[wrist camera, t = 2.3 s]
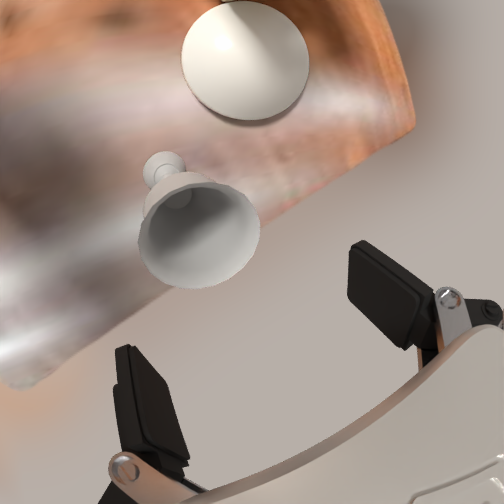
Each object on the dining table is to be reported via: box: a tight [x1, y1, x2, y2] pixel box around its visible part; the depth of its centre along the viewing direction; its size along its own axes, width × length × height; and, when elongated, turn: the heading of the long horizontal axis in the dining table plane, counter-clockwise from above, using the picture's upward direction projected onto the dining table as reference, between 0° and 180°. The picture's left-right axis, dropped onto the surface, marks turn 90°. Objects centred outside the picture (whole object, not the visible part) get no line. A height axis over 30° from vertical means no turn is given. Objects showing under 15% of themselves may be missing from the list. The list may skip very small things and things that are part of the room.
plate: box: [181, 1, 309, 120], centre depth 26 cm, size 16×16×1 cm
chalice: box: [138, 151, 260, 289], centre depth 22 cm, size 7×7×18 cm
